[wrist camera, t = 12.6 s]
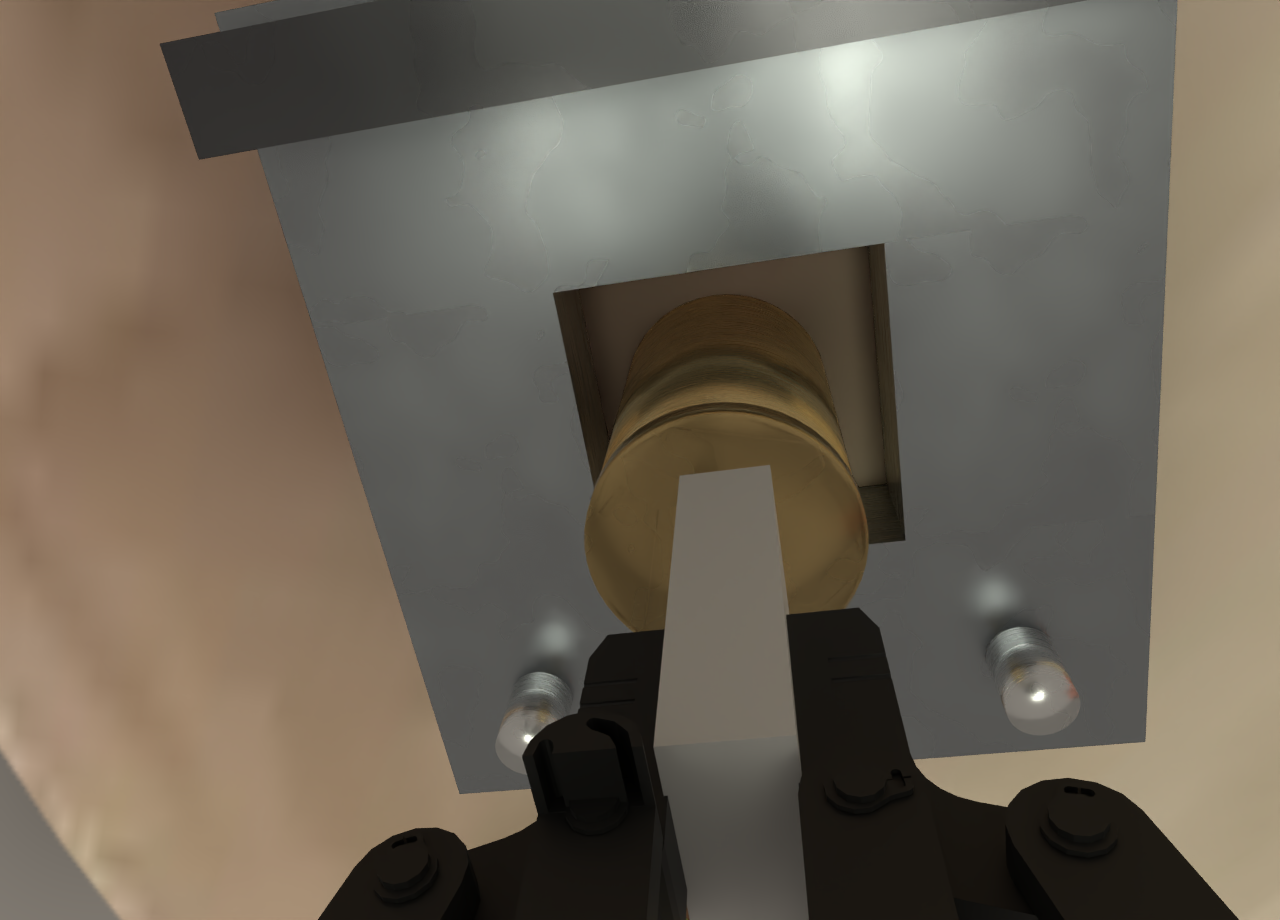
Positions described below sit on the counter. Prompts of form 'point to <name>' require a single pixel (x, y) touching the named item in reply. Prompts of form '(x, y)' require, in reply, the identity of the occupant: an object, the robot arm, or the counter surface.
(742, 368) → the amber grooved cylinder
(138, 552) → the counter surface
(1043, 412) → the jig
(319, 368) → the counter surface
